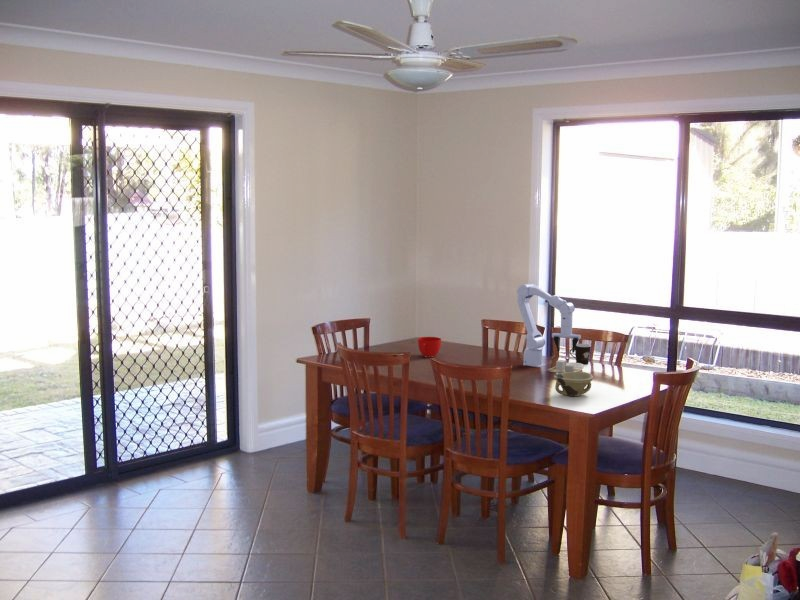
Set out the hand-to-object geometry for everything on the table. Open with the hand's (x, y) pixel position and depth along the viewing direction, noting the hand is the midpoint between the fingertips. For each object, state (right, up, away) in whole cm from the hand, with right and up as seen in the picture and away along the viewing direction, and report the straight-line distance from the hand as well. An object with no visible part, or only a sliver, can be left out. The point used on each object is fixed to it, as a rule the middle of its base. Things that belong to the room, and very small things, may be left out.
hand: (565, 351), depth 416 cm
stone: (+1, -11, -6) cm, 12 cm away
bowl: (-7, -17, -46) cm, 50 cm away
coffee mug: (+11, -8, +19) cm, 24 cm away
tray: (-1, -10, -2) cm, 11 cm away
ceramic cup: (-70, -5, +33) cm, 78 cm away
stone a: (-2, -10, +1) cm, 10 cm away
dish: (+6, -9, +7) cm, 13 cm away
